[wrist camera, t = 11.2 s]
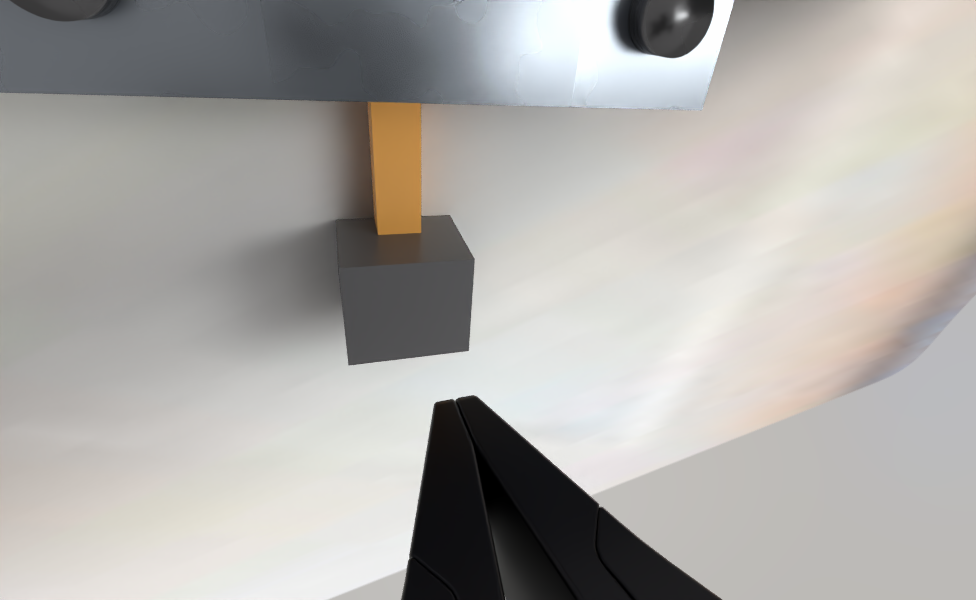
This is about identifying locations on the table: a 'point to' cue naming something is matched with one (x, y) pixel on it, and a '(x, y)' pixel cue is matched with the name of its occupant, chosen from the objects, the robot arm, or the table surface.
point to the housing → (369, 50)
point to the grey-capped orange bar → (402, 256)
